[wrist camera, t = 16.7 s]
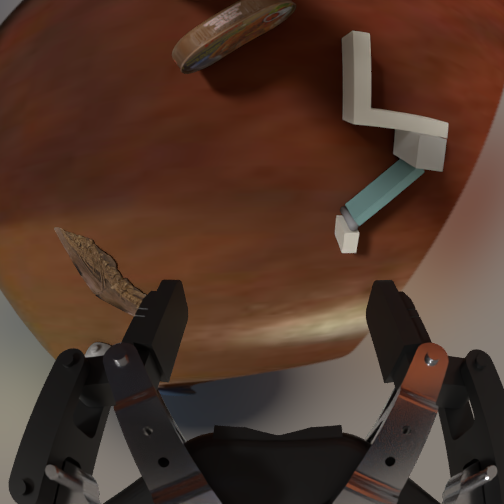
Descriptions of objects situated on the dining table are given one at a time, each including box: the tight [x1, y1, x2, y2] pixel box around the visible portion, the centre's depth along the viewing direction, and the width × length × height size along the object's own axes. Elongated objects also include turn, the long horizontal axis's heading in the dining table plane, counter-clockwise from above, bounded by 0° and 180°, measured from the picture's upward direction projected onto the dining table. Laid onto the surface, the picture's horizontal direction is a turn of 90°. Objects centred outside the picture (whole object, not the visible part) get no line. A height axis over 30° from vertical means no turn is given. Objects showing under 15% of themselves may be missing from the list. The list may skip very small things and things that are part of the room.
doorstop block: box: [393, 129, 447, 172], centre depth 29 cm, size 4×4×7 cm
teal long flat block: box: [340, 159, 425, 231], centre depth 34 cm, size 13×2×5 cm, turn 136°
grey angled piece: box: [335, 31, 448, 253], centre depth 31 cm, size 28×13×5 cm, turn 2°
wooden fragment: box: [54, 227, 146, 316], centre depth 48 cm, size 26×11×1 cm, turn 34°
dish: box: [85, 342, 111, 357], centre depth 61 cm, size 14×14×5 cm
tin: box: [172, 0, 296, 74], centre depth 24 cm, size 15×3×8 cm, turn 123°
